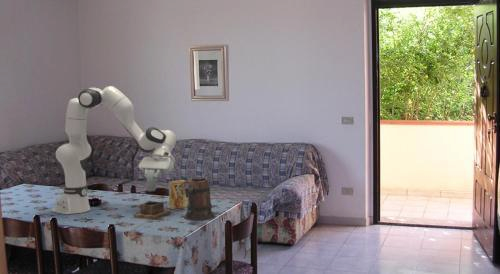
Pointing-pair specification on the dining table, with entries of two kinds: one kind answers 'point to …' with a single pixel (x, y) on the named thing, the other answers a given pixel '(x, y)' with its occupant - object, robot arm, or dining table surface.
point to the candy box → (177, 194)
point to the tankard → (199, 200)
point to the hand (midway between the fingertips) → (150, 177)
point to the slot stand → (152, 210)
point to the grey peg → (150, 180)
